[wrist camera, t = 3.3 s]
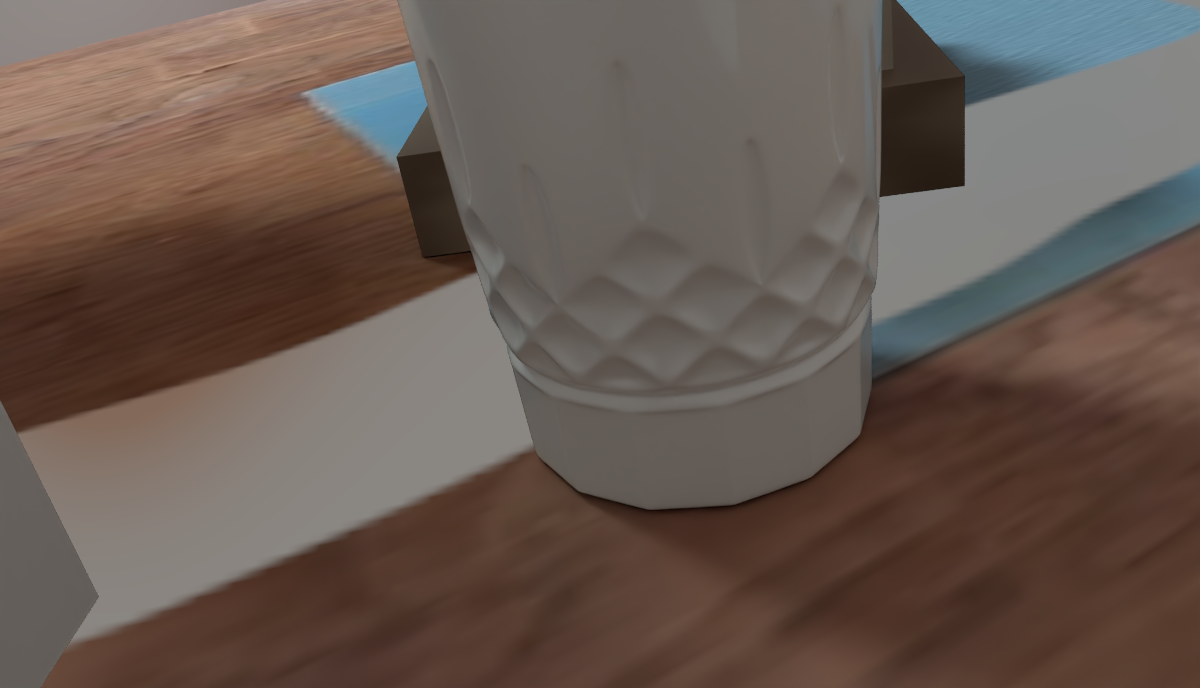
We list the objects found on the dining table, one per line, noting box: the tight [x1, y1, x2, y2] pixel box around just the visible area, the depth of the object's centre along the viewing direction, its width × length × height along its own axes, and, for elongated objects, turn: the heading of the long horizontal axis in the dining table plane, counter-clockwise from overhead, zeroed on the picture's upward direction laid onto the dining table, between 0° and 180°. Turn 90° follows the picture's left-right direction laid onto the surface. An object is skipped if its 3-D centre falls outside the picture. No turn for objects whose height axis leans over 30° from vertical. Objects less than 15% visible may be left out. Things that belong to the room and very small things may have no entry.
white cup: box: [397, 0, 882, 510], centre depth 20 cm, size 8×8×10 cm
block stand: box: [397, 0, 965, 257], centre depth 35 cm, size 15×15×6 cm
